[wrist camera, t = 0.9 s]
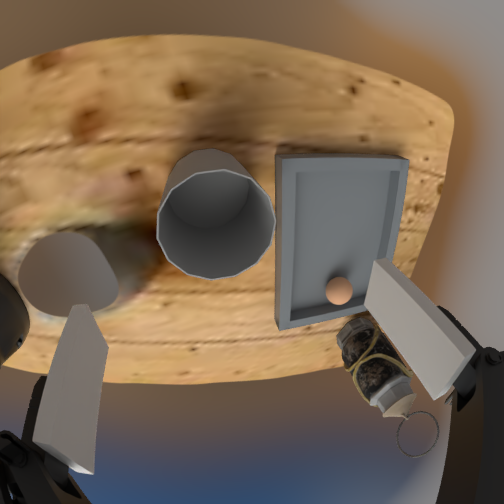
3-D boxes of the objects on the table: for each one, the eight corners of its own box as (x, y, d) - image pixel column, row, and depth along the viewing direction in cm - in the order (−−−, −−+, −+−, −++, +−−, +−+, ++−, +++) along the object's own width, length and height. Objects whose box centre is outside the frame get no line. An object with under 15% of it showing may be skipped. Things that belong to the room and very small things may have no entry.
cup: (246, 144, 26) (274, 163, 18) (251, 220, 30) (277, 269, 22) (160, 155, 25) (145, 181, 17) (173, 231, 29) (168, 286, 21)
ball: (319, 296, 37) (330, 312, 34) (322, 274, 35) (334, 290, 32) (343, 291, 38) (354, 307, 35) (346, 269, 36) (359, 285, 33)
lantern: (352, 352, 47) (415, 463, 26) (321, 346, 44) (387, 476, 22) (382, 317, 44) (461, 428, 23) (353, 307, 41) (441, 439, 19)
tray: (274, 318, 38) (279, 330, 36) (274, 154, 27) (281, 158, 25) (372, 297, 41) (379, 307, 39) (397, 155, 30) (409, 159, 28)
